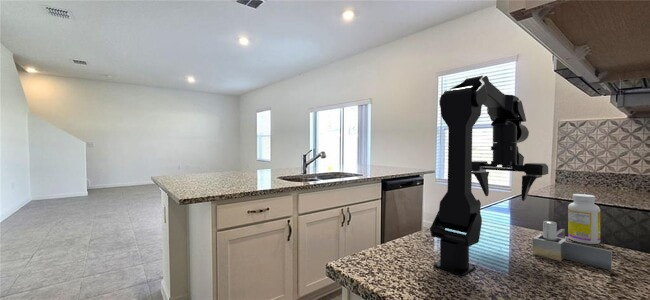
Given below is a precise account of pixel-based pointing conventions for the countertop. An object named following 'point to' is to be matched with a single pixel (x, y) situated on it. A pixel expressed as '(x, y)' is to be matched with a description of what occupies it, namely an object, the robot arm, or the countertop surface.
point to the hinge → (571, 251)
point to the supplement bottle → (584, 219)
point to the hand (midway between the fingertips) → (504, 198)
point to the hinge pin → (550, 231)
